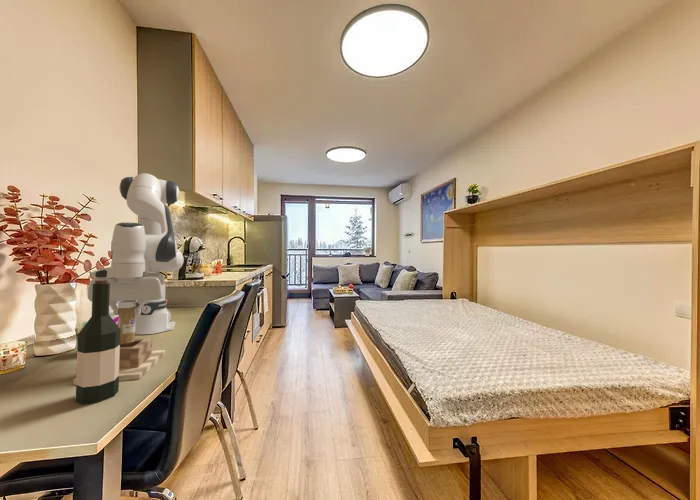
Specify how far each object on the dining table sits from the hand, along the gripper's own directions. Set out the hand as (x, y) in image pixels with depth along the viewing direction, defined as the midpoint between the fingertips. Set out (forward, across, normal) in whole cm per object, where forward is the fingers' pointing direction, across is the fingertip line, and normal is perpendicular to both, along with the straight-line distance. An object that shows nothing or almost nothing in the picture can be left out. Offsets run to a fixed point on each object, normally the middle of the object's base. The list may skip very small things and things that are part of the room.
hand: (127, 314), depth 93 cm
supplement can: (+17, +13, -19) cm, 29 cm away
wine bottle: (+17, -2, +20) cm, 27 cm away
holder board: (+17, 0, 0) cm, 17 cm away
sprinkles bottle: (+9, 0, 0) cm, 9 cm away
